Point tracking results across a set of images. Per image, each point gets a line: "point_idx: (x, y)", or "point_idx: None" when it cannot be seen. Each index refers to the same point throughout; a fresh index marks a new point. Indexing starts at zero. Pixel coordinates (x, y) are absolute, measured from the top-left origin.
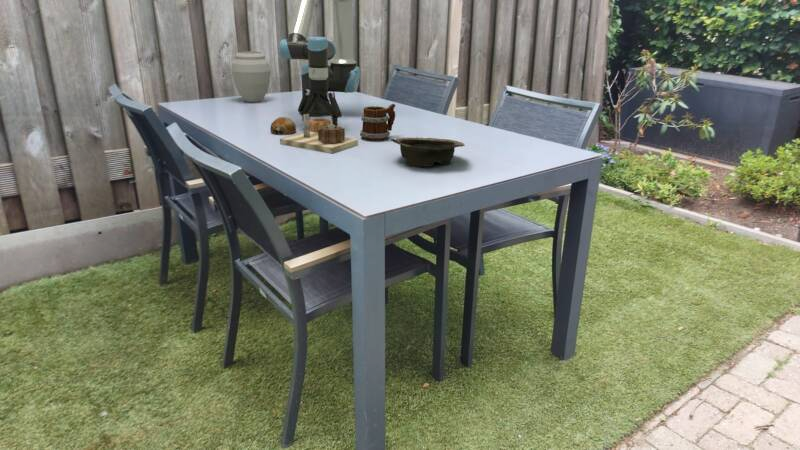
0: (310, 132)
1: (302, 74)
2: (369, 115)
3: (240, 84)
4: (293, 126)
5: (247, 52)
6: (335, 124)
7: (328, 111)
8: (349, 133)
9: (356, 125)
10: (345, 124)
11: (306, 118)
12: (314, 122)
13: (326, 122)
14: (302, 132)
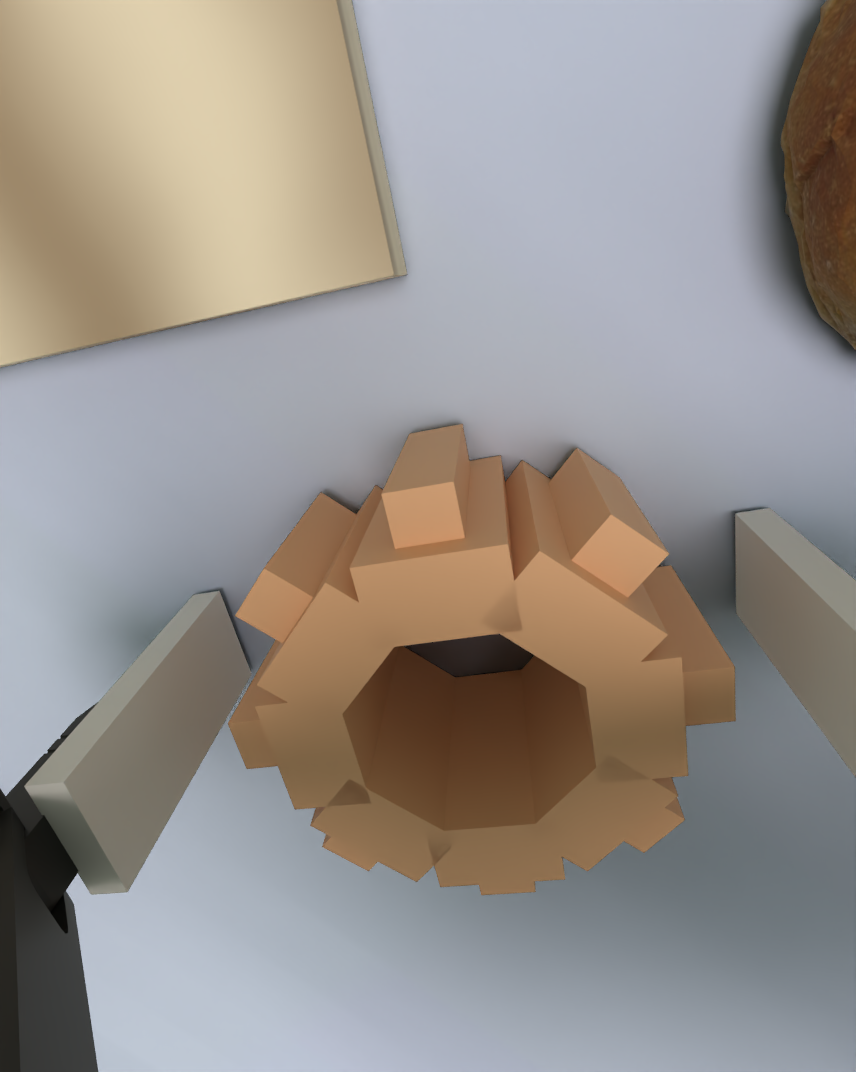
0: (235, 228)
1: None
2: None
3: None
4: (854, 182)
5: None
6: (67, 732)
7: (9, 946)
8: (181, 797)
9: (459, 1054)
10: (584, 1034)
11: (846, 676)
12: (410, 552)
13: (272, 723)
14: (343, 68)
